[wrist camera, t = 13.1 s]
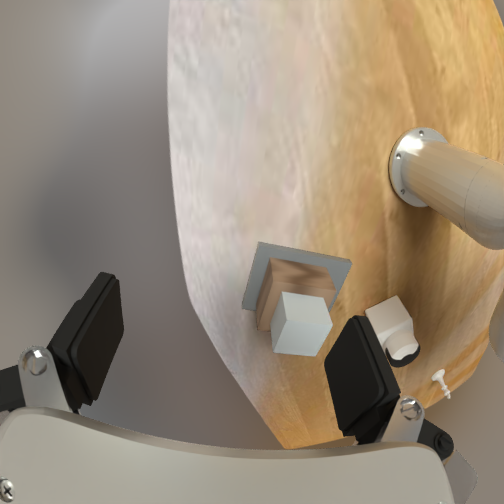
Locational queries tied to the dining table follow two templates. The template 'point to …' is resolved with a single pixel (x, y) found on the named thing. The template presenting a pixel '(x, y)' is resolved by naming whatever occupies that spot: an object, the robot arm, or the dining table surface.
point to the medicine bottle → (394, 331)
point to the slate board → (264, 251)
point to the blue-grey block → (299, 324)
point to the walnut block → (290, 286)
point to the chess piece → (441, 381)
